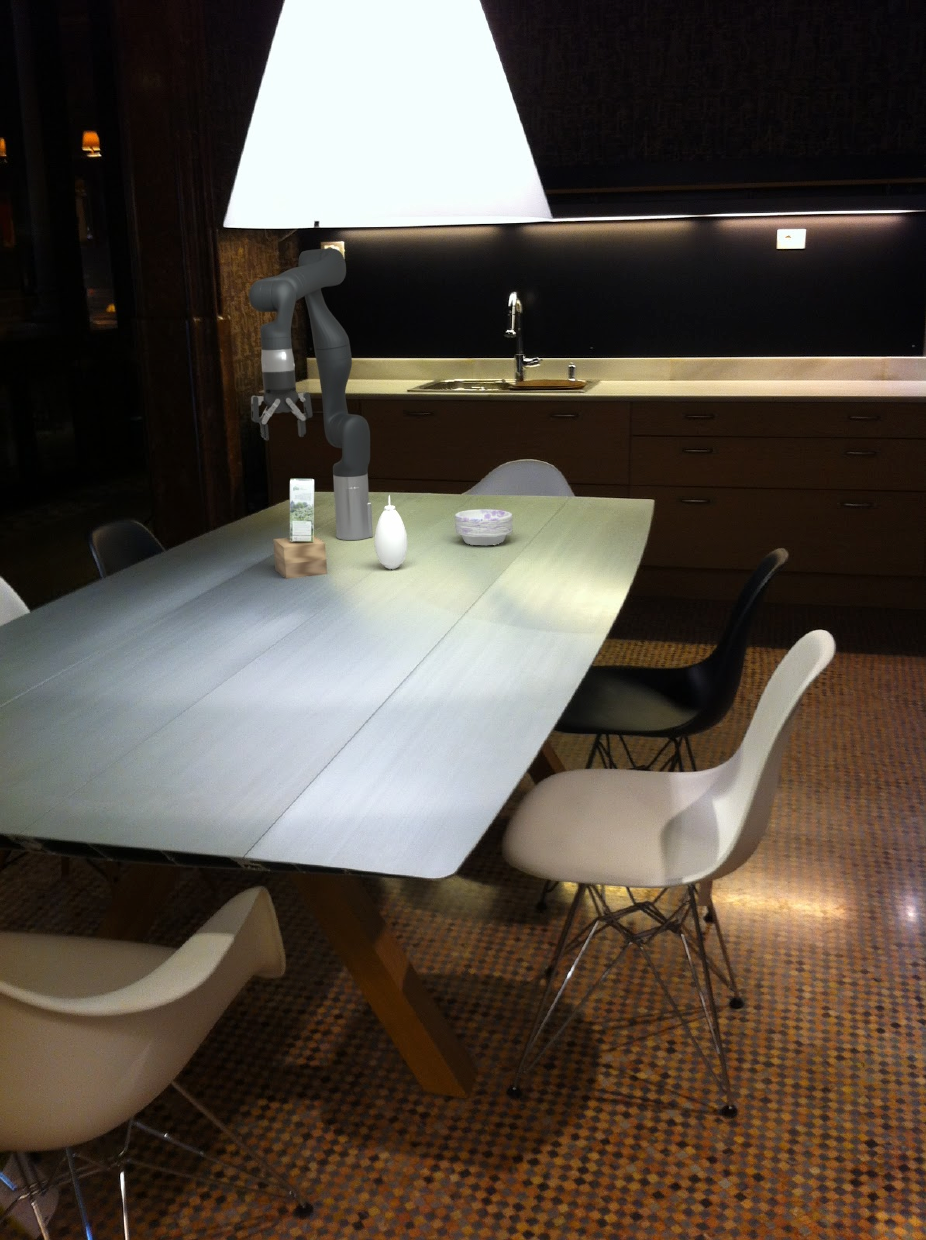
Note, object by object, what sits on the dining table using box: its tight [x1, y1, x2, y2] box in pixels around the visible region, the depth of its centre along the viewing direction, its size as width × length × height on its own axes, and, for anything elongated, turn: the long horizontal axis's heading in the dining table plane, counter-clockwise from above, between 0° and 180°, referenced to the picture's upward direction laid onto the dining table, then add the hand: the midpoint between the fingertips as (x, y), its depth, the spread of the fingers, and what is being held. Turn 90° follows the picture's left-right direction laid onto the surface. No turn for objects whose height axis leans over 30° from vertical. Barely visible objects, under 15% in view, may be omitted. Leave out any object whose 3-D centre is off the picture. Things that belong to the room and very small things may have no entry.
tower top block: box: [273, 535, 327, 564], centre depth 279 cm, size 10×10×4 cm
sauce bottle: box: [374, 495, 408, 570], centre depth 279 cm, size 8×8×18 cm
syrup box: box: [289, 478, 315, 542], centre depth 276 cm, size 6×6×14 cm
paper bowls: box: [454, 508, 514, 546], centre depth 306 cm, size 15×15×8 cm
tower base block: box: [274, 555, 328, 580], centre depth 280 cm, size 10×10×4 cm
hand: (283, 438), depth 277 cm, fingers open, 8 cm apart
